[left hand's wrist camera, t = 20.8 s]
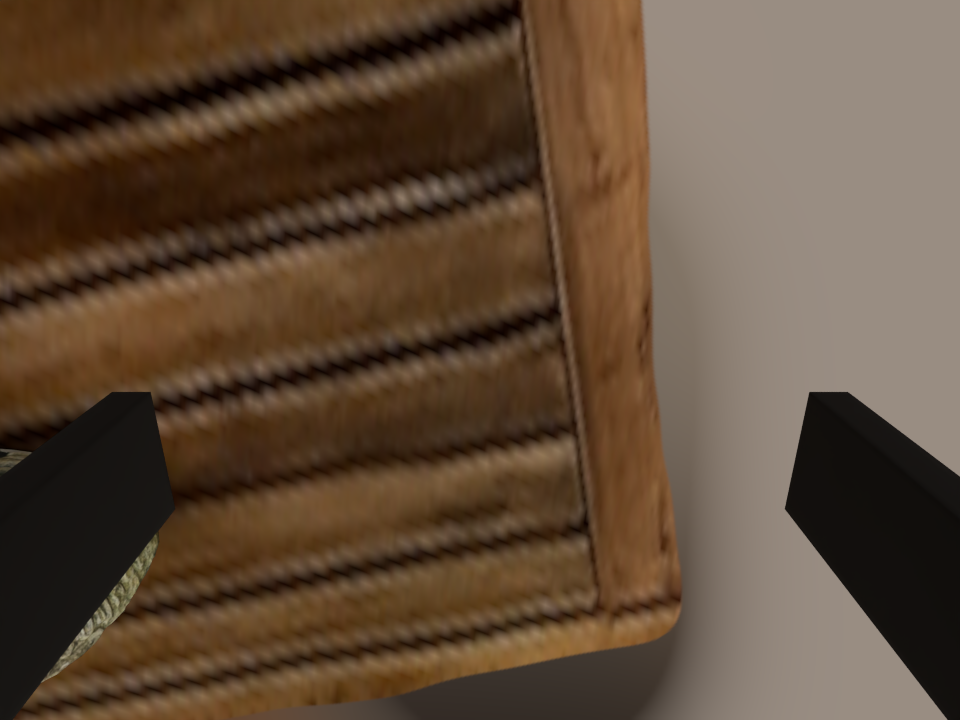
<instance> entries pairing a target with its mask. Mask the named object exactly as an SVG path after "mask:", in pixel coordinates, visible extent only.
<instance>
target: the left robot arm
mask: <svg viewBox="0 0 960 720" xmlns="http://www.w3.org/2000/svg"><path fill="white" fill-rule="evenodd" d="M174 510H175V506H174V501H173V496H172V492H171V487H170V482H169V477H168V473H167V468H166V463H165V458H164V454H163V449H162V444H161V439H160V435H159V430H158V425H157V420H156V416H155V411H154V406H153V401H152V397H151V392H112V393H110V394H109V395H108V396H106V397H105V398H104V399H102V400H101V401H100V402H98V403H97V404H96V405H94V406H93V407H92V408H90V409H89V410H88V411H86V412H85V413H84V414H82V415H81V416H80V417H78V418H77V419H76V420H75V421H73V422H72V423H71V424H69V425H68V426H67V427H65V428H64V429H63V430H61V431H60V432H59V433H57V434H56V435H55V436H53V437H52V438H51V439H49V440H48V441H47V442H45V443H44V444H43V445H41V446H40V447H39V448H37V449H36V450H35V451H34V452H32V453H31V454H30V455H28V456H27V457H26V458H24V459H23V460H22V461H20V462H19V463H18V464H16V465H15V466H14V467H12V468H11V469H10V470H8V471H7V472H6V473H4V474H3V475H2V476H0V720H13V718H14V717H15V716H16V714H17V713H18V712H19V711H20V709H21V708H22V707H23V705H24V704H25V703H26V701H27V700H28V699H29V698H30V696H31V695H32V694H33V692H34V691H35V690H36V689H37V687H38V686H39V685H40V683H41V682H42V681H43V679H44V678H45V677H46V676H47V674H48V673H49V672H50V670H51V669H52V668H53V666H54V665H55V664H56V663H57V661H58V660H59V659H60V657H61V656H62V655H63V654H64V652H65V651H66V650H67V648H68V647H69V646H70V644H71V643H72V642H73V641H74V639H75V638H76V637H77V635H78V634H79V633H80V632H81V630H82V629H83V628H84V626H85V625H86V624H87V622H88V621H89V620H90V619H91V617H92V616H93V615H94V613H95V612H96V611H97V610H98V608H99V607H100V606H101V604H102V603H103V602H104V600H105V599H106V598H107V597H108V595H109V594H110V593H111V591H112V590H113V589H114V587H115V586H116V585H117V584H118V582H119V581H120V580H121V578H122V577H123V576H124V575H125V573H126V572H127V571H128V569H129V568H130V567H131V565H132V564H133V563H134V562H135V560H136V559H137V558H138V556H139V555H140V554H141V553H142V551H143V550H144V549H145V547H146V546H147V545H148V543H149V542H150V541H151V540H152V538H153V537H154V536H155V534H156V533H157V532H158V530H159V529H160V528H161V527H162V525H163V524H164V523H165V521H166V520H167V519H168V518H169V516H170V515H171V514H172V512H173V511H174ZM785 510H786V511H787V512H788V514H789V515H790V516H791V518H792V519H793V520H794V521H795V523H796V524H797V525H798V527H799V528H800V529H801V530H802V532H803V533H804V534H805V536H806V537H807V538H808V540H809V541H810V542H811V543H812V545H813V546H814V547H815V549H816V550H817V551H818V552H819V554H820V555H821V556H822V558H823V559H824V560H825V562H826V563H827V564H828V565H829V567H830V568H831V569H832V571H833V572H834V573H835V574H836V576H837V577H838V578H839V580H840V581H841V582H842V584H843V585H844V586H845V587H846V589H847V590H848V591H849V593H850V594H851V595H852V597H853V598H854V599H855V600H856V602H857V603H858V604H859V606H860V607H861V608H862V609H863V611H864V612H865V613H866V615H867V616H868V617H869V618H870V620H871V621H872V622H873V624H874V625H875V626H876V628H877V629H878V630H879V632H880V633H881V634H882V635H883V637H884V638H885V639H886V641H887V642H888V643H889V644H890V646H891V647H892V648H893V650H894V651H895V652H896V654H897V655H898V656H899V657H900V659H901V660H902V661H903V663H904V664H905V665H906V666H907V668H908V669H909V670H910V672H911V673H912V674H913V676H914V677H915V678H916V679H917V681H918V682H919V683H920V685H921V686H922V687H923V689H924V690H925V691H926V692H927V694H928V695H929V696H930V698H931V699H932V700H933V701H934V703H935V704H936V705H937V707H938V708H939V709H940V710H941V712H942V713H943V714H944V716H945V717H946V718H947V720H960V476H958V475H957V474H956V473H954V472H953V471H952V470H950V469H949V468H948V467H946V466H945V465H944V464H942V463H941V462H940V461H938V460H937V459H936V458H934V457H933V456H932V455H930V454H929V453H928V452H926V451H925V450H924V449H922V448H921V447H920V446H919V445H917V444H916V443H914V442H913V441H912V440H911V439H909V438H908V437H907V436H905V435H904V434H903V433H901V432H900V431H899V430H897V429H896V428H895V427H893V426H892V425H891V424H889V423H888V422H887V421H885V420H884V419H883V418H882V417H880V416H879V415H878V414H876V413H875V412H874V411H872V410H871V409H870V408H868V407H867V406H866V405H864V404H863V403H862V402H860V401H859V400H858V399H856V398H855V397H854V396H852V395H851V394H850V393H848V392H809V397H808V401H807V406H806V411H805V416H804V420H803V425H802V430H801V435H800V439H799V444H798V449H797V454H796V458H795V463H794V468H793V473H792V477H791V482H790V487H789V492H788V496H787V501H786V506H785Z"/></svg>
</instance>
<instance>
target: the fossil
mask: <svg viewBox="0 0 960 720" xmlns="http://www.w3.org/2000/svg"><path fill="white" fill-rule="evenodd" d="M31 453H32V452H26V451H19V450H9V449H0V476H2V475H3V474H4V473H6V472H7V471H8V470H10V469H11V468H12V467H14V466H15V465H16V464H18V463H19V462H20V461H22V460H23V459H24V458H26V457H27V456H28V455H30V454H31ZM158 544H159V534H158V532H157V533H156V534H155V536H154V537H153V538H152V540H151V541H150V542H149V543H148V545H147V546H146V547H145V549H144V550H143V551H142V553H141V554H140V555H139V556H138V558H137V559H136V560H135V562H134V563H133V564H132V565H131V567H130V568H129V569H128V571H127V572H126V573H125V575H124V576H123V577H122V578H121V580H120V581H119V582H118V584H117V585H116V586H115V587H114V589H113V590H112V591H111V593H110V594H109V595H108V597H107V598H106V599H105V600H104V602H103V603H102V604H101V606H100V607H99V608H98V610H97V611H96V612H95V613H94V615H93V616H92V617H91V619H90V620H89V621H88V622H87V624H86V625H85V626H84V628H83V629H82V630H81V632H80V633H79V634H78V635H77V637H76V638H75V639H74V641H73V642H72V643H71V644H70V646H69V647H68V648H67V650H66V651H65V652H64V654H63V655H62V656H61V657H60V659H59V660H58V661H57V663H56V664H55V665H54V666H53V668H52V669H51V670H50V672H49V673H48V674H47V676H46V677H45V678H44V679H43V681H45V680H46V679H48V678H50V677H52V676H54V675H56V674H58V673H59V672H60V671H62V670H63V669H64V668H65V667H67V666H68V665H69V664H71V663H72V662H74V661H75V660H76V659H78V658H79V657H81V656H82V655H83V654H84V653H85V652H86V651H87V650H88V649H89V648H90V647H91V646H93V645H94V644H95V643H96V641H97V640H98V639H99V638H100V636H101V634H102V632H103V631H104V629H105V628H106V627H107V626H109V625H110V624H111V623H112V622H113V621H114V620H115V619H116V618H117V617H118V616H119V615H120V614H121V613H122V612H123V611H124V610H125V607H126V606H127V604H128V603H129V602H130V599H131V598H132V596H133V595H134V593H135V592H136V590H137V588H138V586H139V585H140V583H141V581H142V579H143V578H144V576H145V575H146V573H147V571H148V569H149V567H150V565H151V561H152V559H153V558H154V557H155V554H156V550H157V547H158ZM43 681H42V682H43Z"/></svg>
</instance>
